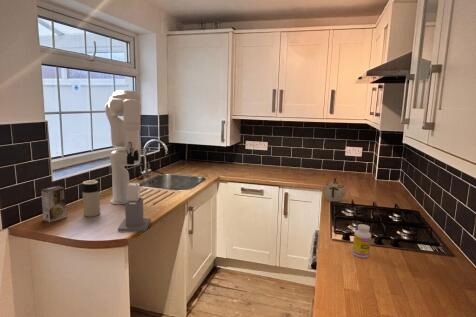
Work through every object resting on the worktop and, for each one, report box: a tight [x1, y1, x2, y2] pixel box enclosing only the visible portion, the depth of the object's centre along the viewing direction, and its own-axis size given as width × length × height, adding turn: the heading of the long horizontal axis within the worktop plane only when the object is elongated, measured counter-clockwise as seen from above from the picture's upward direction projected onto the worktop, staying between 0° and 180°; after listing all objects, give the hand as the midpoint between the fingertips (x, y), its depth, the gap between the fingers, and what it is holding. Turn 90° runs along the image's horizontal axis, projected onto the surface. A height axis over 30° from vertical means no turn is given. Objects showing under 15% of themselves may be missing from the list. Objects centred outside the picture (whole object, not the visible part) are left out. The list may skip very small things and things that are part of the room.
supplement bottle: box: [352, 223, 372, 259], centre depth 134 cm, size 7×7×13 cm
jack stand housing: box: [117, 197, 151, 233], centre depth 155 cm, size 13×13×14 cm
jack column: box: [128, 182, 141, 202], centre depth 154 cm, size 5×5×20 cm
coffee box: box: [40, 185, 68, 223], centre depth 161 cm, size 9×6×16 cm
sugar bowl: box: [322, 177, 347, 202], centre depth 209 cm, size 20×15×15 cm
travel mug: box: [81, 179, 101, 218], centre depth 169 cm, size 8×8×18 cm
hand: (133, 162), depth 151 cm, fingers open, 9 cm apart
